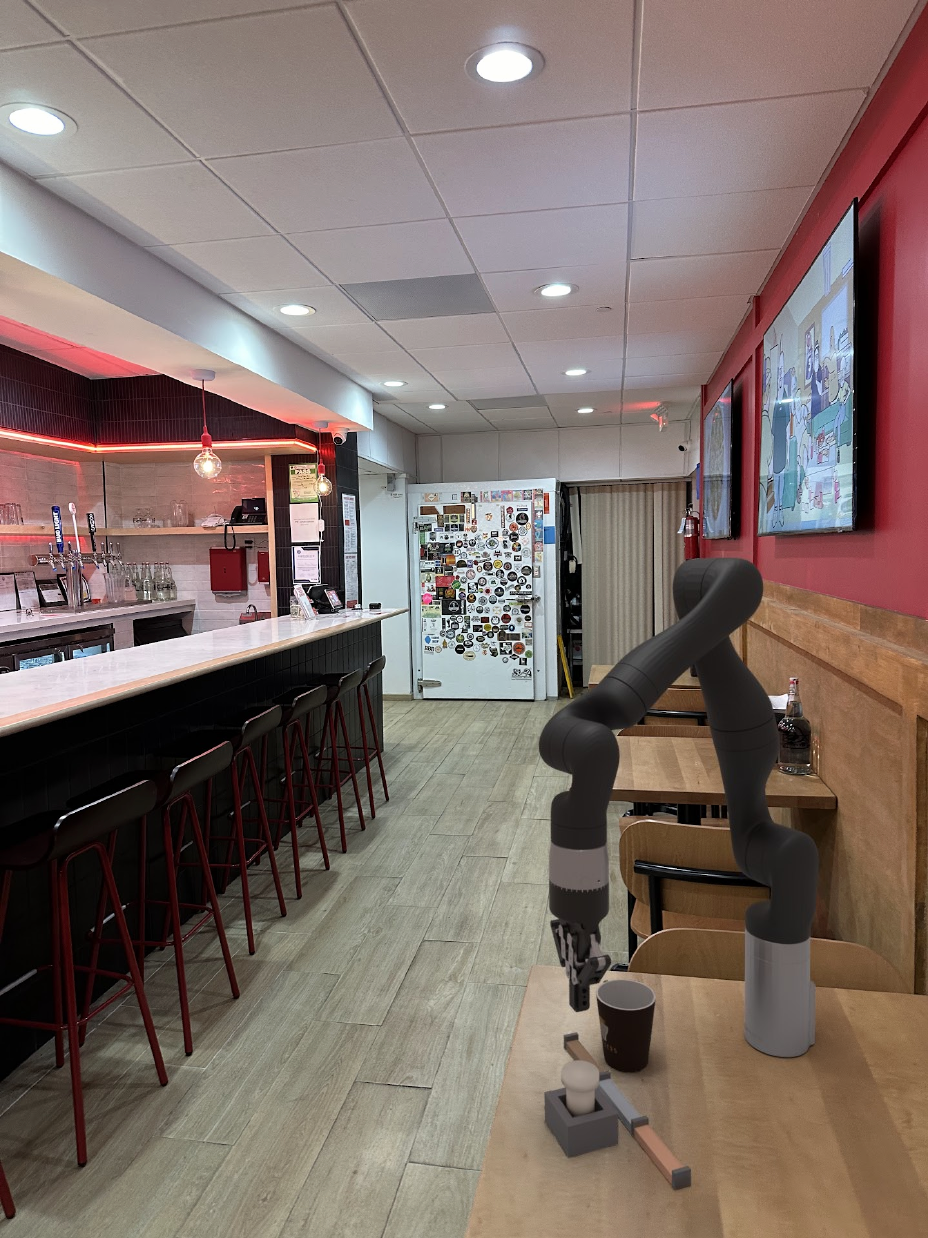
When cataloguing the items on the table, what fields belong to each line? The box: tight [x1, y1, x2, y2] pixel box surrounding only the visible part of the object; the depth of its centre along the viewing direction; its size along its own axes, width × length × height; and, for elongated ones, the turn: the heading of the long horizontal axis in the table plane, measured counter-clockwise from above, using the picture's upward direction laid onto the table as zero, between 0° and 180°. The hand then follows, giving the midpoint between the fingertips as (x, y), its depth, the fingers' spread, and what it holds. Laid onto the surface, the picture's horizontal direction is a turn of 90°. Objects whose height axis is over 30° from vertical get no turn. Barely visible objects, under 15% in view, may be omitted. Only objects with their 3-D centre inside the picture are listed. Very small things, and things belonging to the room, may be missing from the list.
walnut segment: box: [563, 1031, 605, 1073], centre depth 121 cm, size 2×10×2 cm, turn 18°
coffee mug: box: [595, 978, 657, 1074], centre depth 123 cm, size 12×9×10 cm
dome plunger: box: [560, 1060, 599, 1118], centre depth 106 cm, size 5×5×6 cm
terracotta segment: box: [630, 1115, 692, 1191], centre depth 102 cm, size 2×10×2 cm, turn 19°
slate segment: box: [598, 1070, 642, 1133], centre depth 111 cm, size 2×10×2 cm, turn 19°
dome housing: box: [543, 1086, 619, 1159], centre depth 106 cm, size 7×7×4 cm
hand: (579, 1008), depth 105 cm, fingers closed
